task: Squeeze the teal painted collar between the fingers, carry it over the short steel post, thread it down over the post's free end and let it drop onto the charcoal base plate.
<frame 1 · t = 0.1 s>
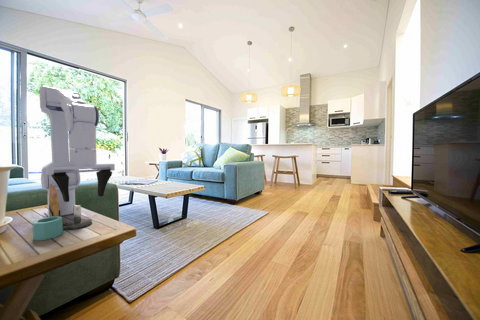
hand: (84, 198, 54), 10 cm above the table, tool pointing down, fingers open, 7 cm apart
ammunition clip: (55, 224, 62), on the table
post: (77, 225, 60), on the table
collar: (48, 235, 53), on the table
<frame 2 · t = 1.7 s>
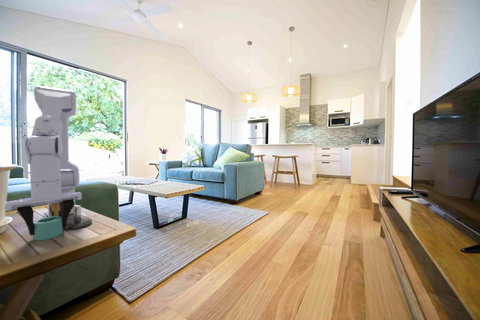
hand: (48, 230, 53), 1 cm above the table, tool pointing down, fingers closed on collar, 5 cm apart
collar: (48, 235, 53), on the table, touching gripper
everything else where it was.
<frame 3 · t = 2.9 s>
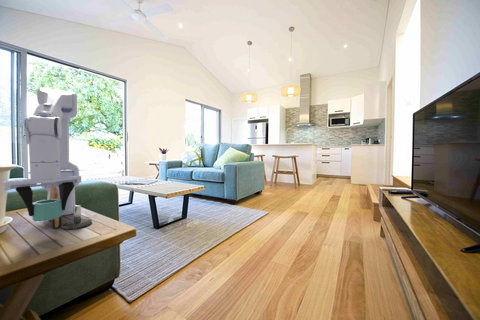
hand: (47, 212, 53), 6 cm above the table, tool pointing down, fingers closed on collar, 5 cm apart
collar: (47, 217, 53), point 5 cm above the table, touching gripper
everything else where it was.
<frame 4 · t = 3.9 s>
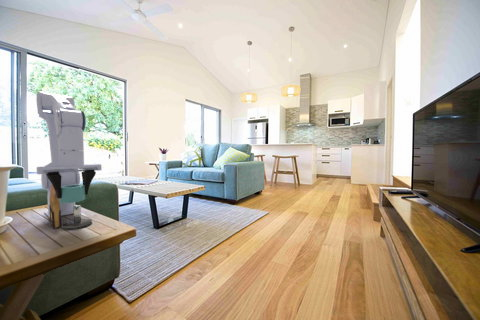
hand: (72, 196, 59), 9 cm above the table, tool pointing down, fingers closed on collar, 5 cm apart
collar: (72, 200, 59), point 8 cm above the table, touching gripper
everything else where it was.
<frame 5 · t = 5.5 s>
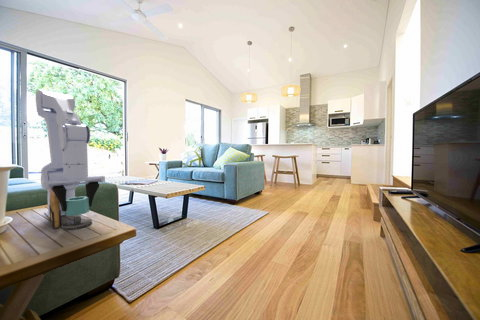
hand: (77, 208, 60), 5 cm above the table, tool pointing down, fingers closed on collar, 5 cm apart
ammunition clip: (55, 224, 62), on the table, touching gripper
collar: (77, 212, 60), point 4 cm above the table, touching gripper
when the fingers open (4 cm above the table, at t = 6.4 s): collar drops 2 cm, resting on post.
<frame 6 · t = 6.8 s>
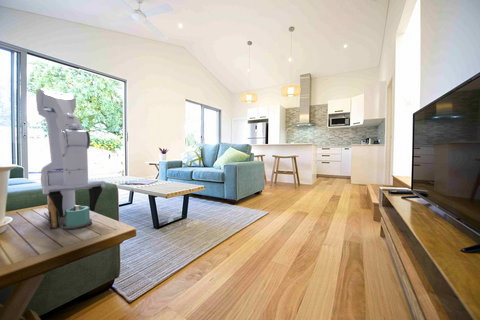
hand: (77, 213, 60), 4 cm above the table, tool pointing down, fingers open, 7 cm apart
collar: (77, 222, 60), point 1 cm above the table, touching post
everything else where it was.
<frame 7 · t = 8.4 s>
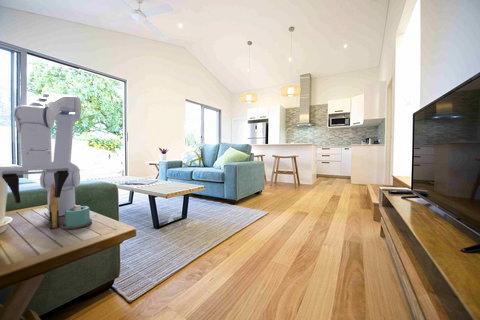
hand: (38, 199, 54), 9 cm above the table, tool pointing down, fingers open, 7 cm apart
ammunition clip: (54, 224, 62), on the table
everything else where it was.
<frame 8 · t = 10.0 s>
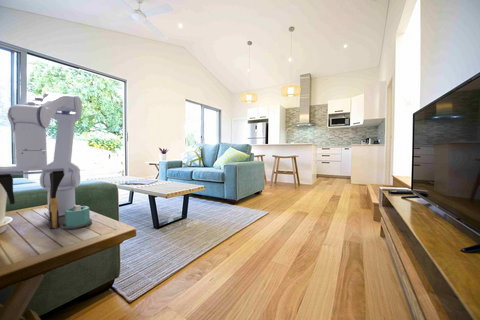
hand: (33, 200, 53), 9 cm above the table, tool pointing down, fingers open, 7 cm apart
nothing on the table moved.
at the end: collar 0.3 cm from the post (horizontally); collar point 0.8 cm above the table; the gripper is holding nothing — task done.
